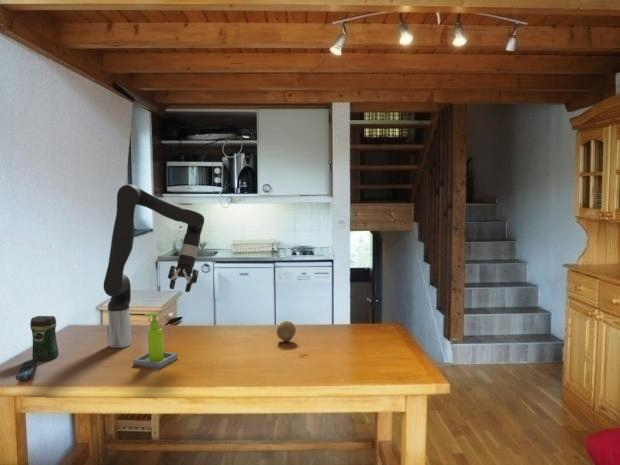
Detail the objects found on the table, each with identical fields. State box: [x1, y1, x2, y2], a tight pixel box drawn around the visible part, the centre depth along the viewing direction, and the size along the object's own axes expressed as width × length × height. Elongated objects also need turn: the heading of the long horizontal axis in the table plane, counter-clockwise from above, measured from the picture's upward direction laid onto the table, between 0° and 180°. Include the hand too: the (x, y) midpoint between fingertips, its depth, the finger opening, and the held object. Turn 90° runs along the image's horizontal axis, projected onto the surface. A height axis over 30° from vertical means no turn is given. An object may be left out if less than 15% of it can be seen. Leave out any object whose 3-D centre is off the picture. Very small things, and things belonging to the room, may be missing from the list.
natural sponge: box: [276, 320, 297, 343], centre depth 225 cm, size 9×9×10 cm
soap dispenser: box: [143, 312, 164, 362], centre depth 201 cm, size 6×7×20 cm
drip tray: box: [132, 351, 178, 370], centre depth 202 cm, size 13×12×2 cm
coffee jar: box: [29, 315, 59, 361], centre depth 208 cm, size 10×8×19 cm
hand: (179, 290), depth 216 cm, fingers open, 8 cm apart
